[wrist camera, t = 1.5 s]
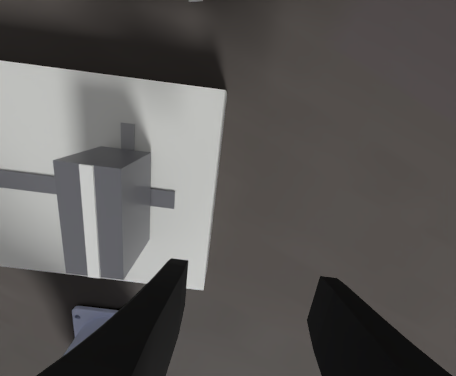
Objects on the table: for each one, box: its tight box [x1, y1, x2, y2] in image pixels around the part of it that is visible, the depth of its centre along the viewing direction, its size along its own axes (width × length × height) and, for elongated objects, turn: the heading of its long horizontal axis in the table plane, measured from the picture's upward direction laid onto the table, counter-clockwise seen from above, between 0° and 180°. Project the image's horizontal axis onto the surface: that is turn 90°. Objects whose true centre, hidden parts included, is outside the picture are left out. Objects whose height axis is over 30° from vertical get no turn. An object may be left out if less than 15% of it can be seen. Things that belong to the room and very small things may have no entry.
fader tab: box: [53, 146, 151, 280], centre depth 13 cm, size 6×3×4 cm, turn 173°
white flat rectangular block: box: [0, 60, 227, 290], centre depth 17 cm, size 14×25×3 cm, turn 83°
